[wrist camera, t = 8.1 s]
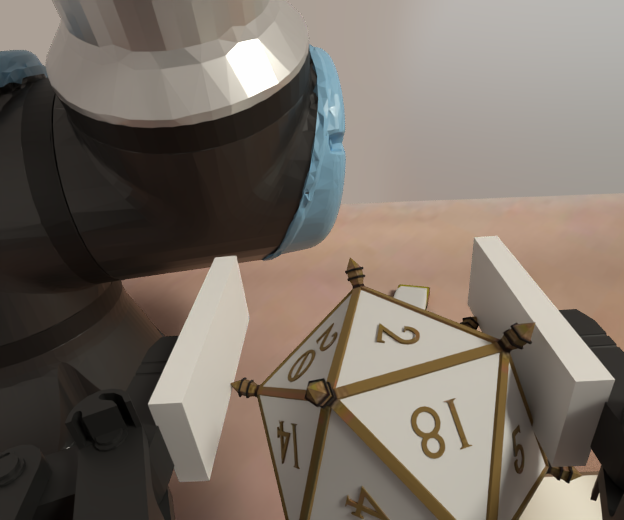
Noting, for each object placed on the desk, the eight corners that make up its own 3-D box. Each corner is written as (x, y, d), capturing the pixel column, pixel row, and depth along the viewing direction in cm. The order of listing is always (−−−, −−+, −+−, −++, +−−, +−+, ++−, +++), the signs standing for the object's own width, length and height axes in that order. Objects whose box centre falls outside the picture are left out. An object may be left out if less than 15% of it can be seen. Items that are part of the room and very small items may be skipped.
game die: (383, 632, 14) (149, 769, 7) (309, 395, 19) (133, 322, 12) (652, 528, 12) (758, 557, 5) (487, 297, 17) (411, 134, 10)
